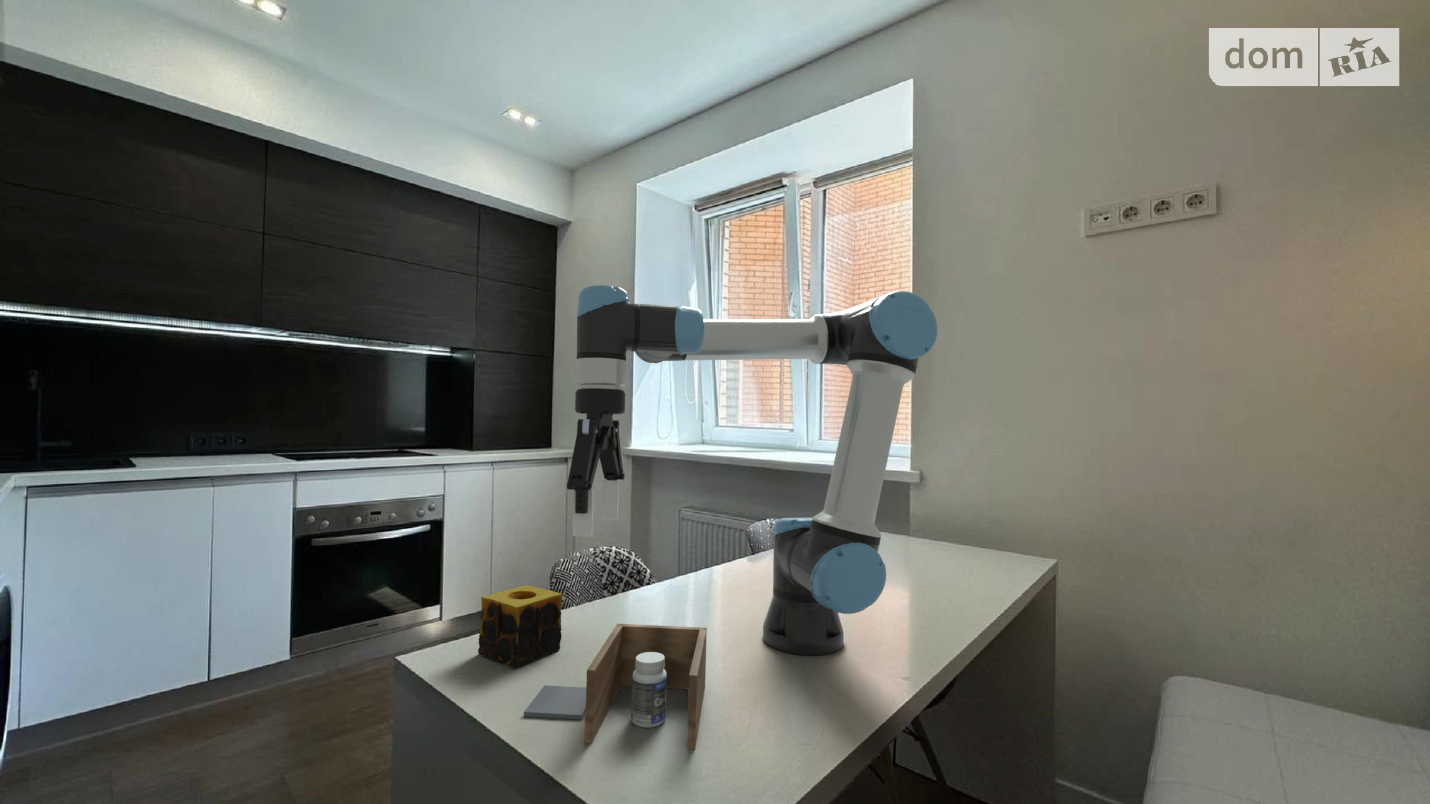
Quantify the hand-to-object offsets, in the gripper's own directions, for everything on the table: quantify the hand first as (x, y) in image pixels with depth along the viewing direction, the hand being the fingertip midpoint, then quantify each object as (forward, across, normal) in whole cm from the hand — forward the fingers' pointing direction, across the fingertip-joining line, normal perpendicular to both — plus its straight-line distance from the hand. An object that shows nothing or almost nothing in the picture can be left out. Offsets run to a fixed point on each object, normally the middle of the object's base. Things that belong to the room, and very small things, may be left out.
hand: (597, 527), depth 87 cm
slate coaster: (+24, +5, -3) cm, 25 cm away
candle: (+24, -12, -17) cm, 32 cm away
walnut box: (+24, +5, +10) cm, 27 cm away
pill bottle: (+25, +7, +10) cm, 28 cm away
